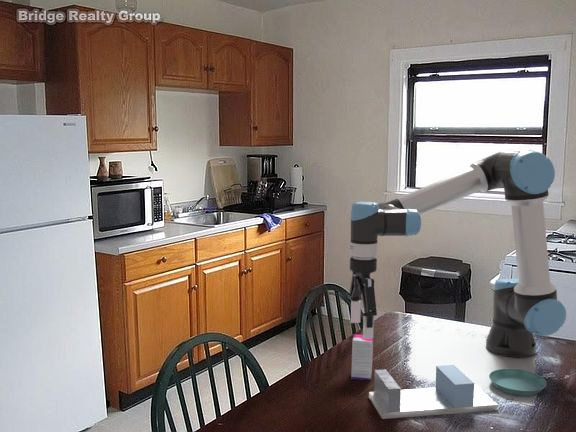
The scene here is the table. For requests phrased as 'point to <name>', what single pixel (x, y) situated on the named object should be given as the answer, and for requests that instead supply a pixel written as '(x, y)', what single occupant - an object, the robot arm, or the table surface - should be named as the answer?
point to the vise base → (419, 400)
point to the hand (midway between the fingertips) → (361, 330)
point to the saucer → (517, 381)
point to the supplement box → (362, 357)
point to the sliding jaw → (455, 386)
